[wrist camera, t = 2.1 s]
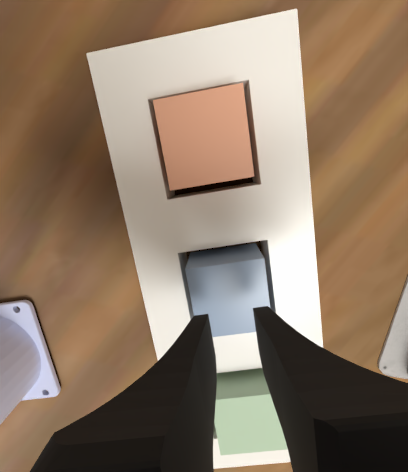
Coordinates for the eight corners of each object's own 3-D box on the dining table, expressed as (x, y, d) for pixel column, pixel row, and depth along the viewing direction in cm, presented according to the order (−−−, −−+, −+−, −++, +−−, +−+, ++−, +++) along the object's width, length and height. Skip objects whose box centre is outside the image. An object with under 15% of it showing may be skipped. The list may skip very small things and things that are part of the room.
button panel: (187, 430, 21) (183, 471, 19) (110, 75, 16) (86, 53, 13) (315, 418, 21) (331, 458, 18) (281, 40, 15) (297, 8, 12)
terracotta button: (178, 187, 16) (170, 190, 13) (165, 114, 15) (152, 100, 12) (246, 175, 15) (254, 176, 12) (237, 100, 14) (242, 82, 12)
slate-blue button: (201, 311, 17) (198, 338, 14) (190, 252, 17) (185, 269, 14) (263, 302, 17) (273, 329, 14) (255, 242, 16) (264, 258, 13)
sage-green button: (219, 412, 19) (220, 455, 16) (210, 364, 18) (210, 400, 15) (276, 406, 19) (287, 449, 16) (270, 357, 18) (280, 393, 15)
